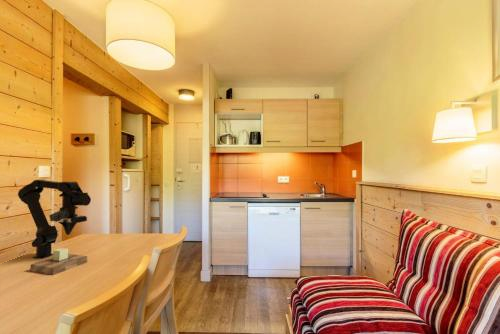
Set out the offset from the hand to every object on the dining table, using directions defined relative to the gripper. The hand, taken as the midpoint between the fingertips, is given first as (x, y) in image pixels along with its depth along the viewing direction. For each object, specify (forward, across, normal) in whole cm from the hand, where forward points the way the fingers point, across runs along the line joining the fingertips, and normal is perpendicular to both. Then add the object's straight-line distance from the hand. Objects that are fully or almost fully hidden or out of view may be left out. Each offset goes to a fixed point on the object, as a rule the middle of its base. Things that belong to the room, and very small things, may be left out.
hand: (67, 234), depth 126 cm
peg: (+12, +9, -10) cm, 18 cm away
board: (+12, +9, -10) cm, 18 cm away
